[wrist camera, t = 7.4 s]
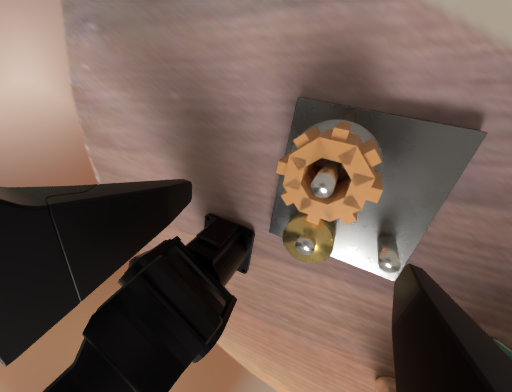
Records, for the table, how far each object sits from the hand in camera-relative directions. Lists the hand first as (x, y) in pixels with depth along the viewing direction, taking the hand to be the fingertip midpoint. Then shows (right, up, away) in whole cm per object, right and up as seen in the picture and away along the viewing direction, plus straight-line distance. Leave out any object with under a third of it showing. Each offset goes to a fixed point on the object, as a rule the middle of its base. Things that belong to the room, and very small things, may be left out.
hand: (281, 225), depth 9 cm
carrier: (+7, +2, +10) cm, 13 cm away
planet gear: (+5, +4, +9) cm, 11 cm away
